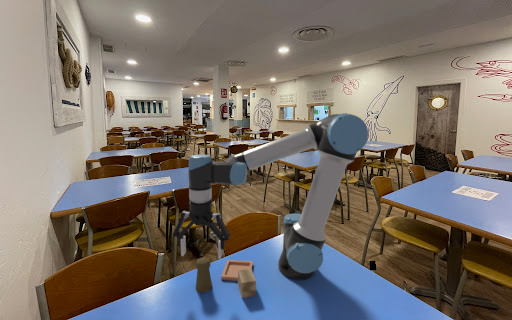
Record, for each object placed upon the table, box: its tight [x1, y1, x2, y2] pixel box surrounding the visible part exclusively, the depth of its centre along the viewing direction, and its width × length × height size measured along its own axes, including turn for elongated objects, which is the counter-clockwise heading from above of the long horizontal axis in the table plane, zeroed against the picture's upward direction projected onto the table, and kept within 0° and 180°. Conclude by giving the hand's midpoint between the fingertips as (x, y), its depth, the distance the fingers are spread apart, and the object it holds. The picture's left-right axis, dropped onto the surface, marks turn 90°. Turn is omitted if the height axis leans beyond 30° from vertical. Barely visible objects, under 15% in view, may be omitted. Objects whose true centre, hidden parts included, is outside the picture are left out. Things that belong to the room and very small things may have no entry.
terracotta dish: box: [220, 259, 254, 282], centre depth 98 cm, size 11×11×1 cm
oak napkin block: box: [237, 268, 257, 299], centre depth 87 cm, size 5×7×6 cm
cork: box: [195, 257, 213, 294], centre depth 88 cm, size 6×6×11 cm
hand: (201, 255), depth 87 cm, fingers open, 13 cm apart
